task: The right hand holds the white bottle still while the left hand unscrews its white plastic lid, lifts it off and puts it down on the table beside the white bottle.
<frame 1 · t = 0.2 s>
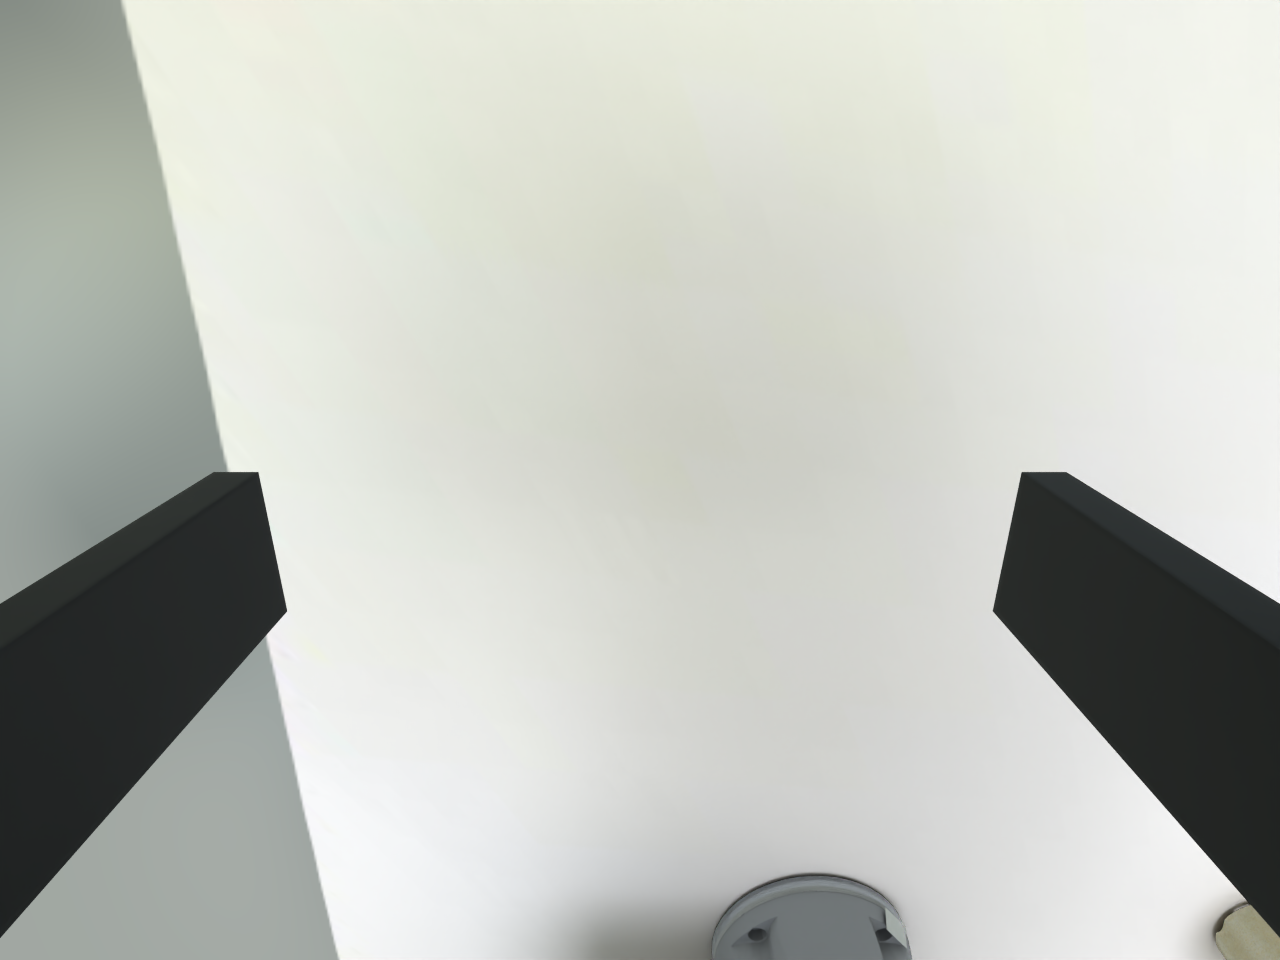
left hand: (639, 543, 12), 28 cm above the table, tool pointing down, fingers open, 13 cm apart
flower pot: (1252, 925, 55), on the table
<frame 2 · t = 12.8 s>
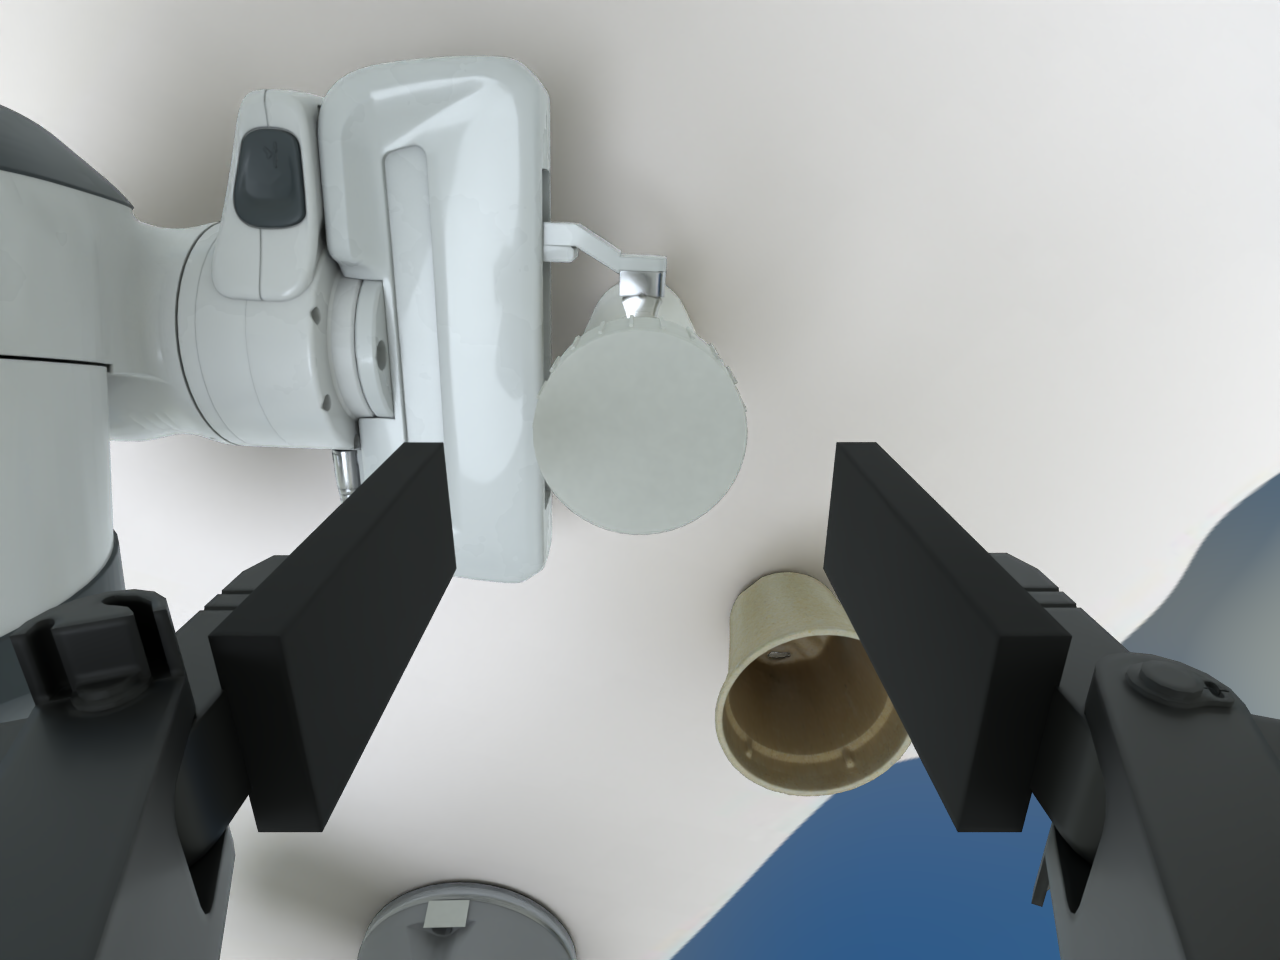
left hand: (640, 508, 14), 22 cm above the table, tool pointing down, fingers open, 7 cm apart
right hand: (661, 353, 29), fingers closed on white bottle, 5 cm apart
flower pot: (781, 614, 41), on the table
white bottle: (640, 328, 35), on the table, touching right hand
lid: (640, 434, 18), point 17 cm above the table, screwed on, not yet turned
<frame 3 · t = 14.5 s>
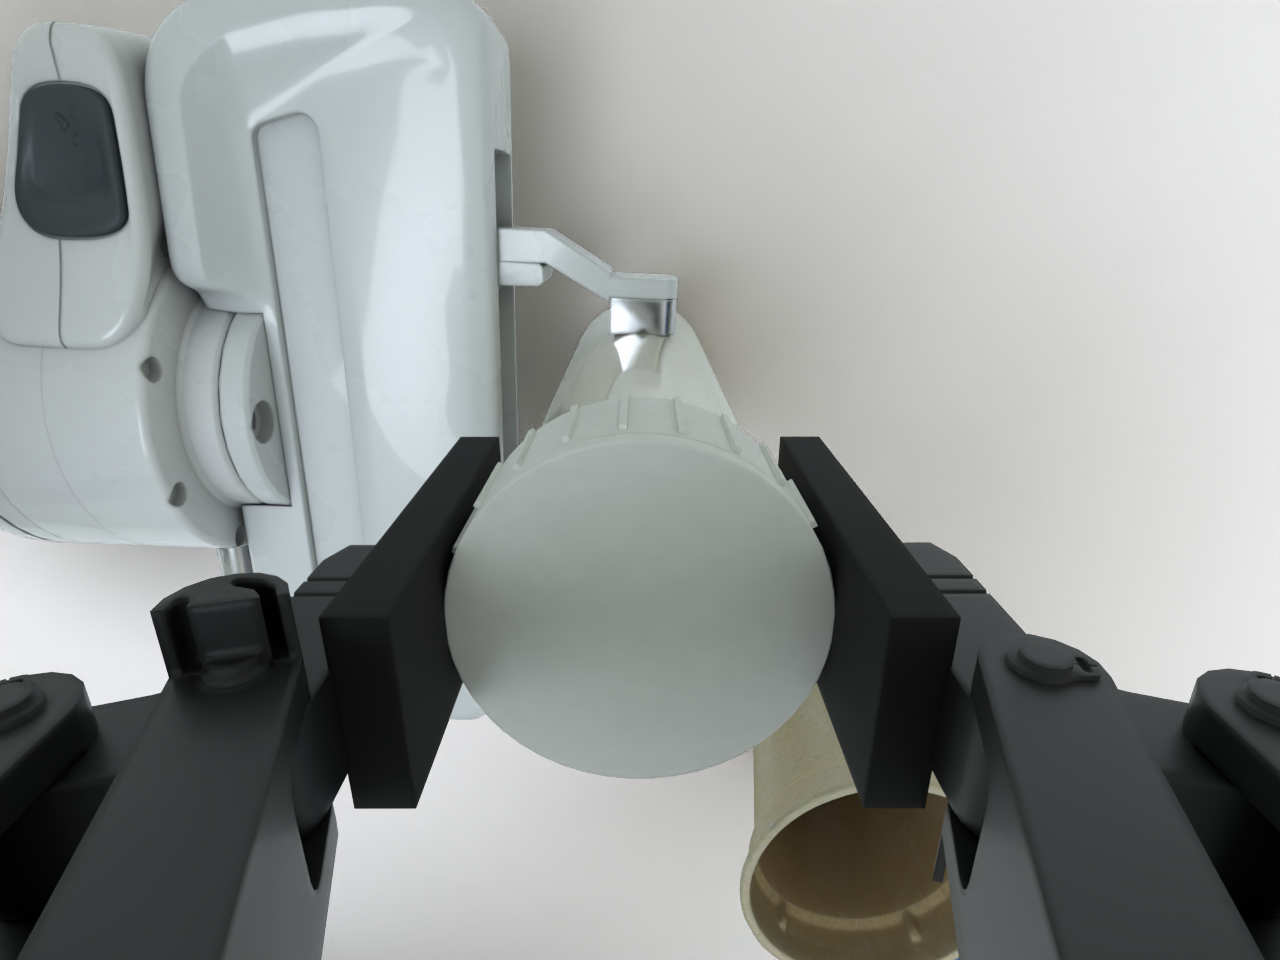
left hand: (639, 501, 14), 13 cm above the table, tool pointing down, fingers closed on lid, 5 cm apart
flower pot: (817, 717, 32), on the table
white bottle: (639, 365, 27), on the table, touching right hand
lid: (639, 613, 10), point 17 cm above the table, screwed on, not yet turned, touching left hand
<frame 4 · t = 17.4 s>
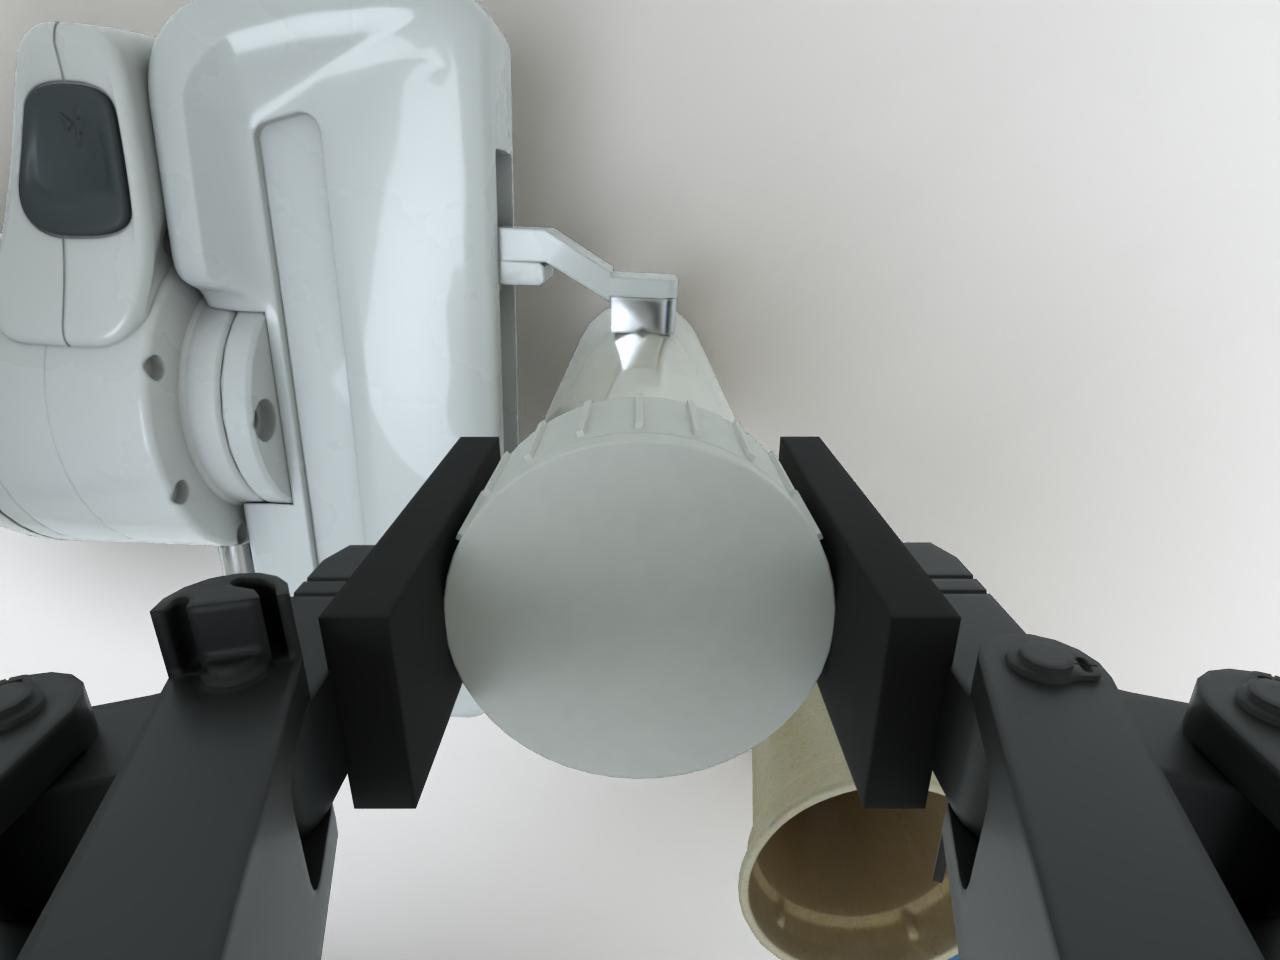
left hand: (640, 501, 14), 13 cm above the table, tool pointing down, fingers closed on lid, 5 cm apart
right hand: (670, 410, 21), fingers closed on white bottle, 5 cm apart
flower pot: (816, 715, 32), on the table
white bottle: (639, 364, 27), on the table, touching right hand
lid: (639, 613, 10), point 18 cm above the table, turned 77° so far, risen 0.1 cm, still on its thread, touching left hand
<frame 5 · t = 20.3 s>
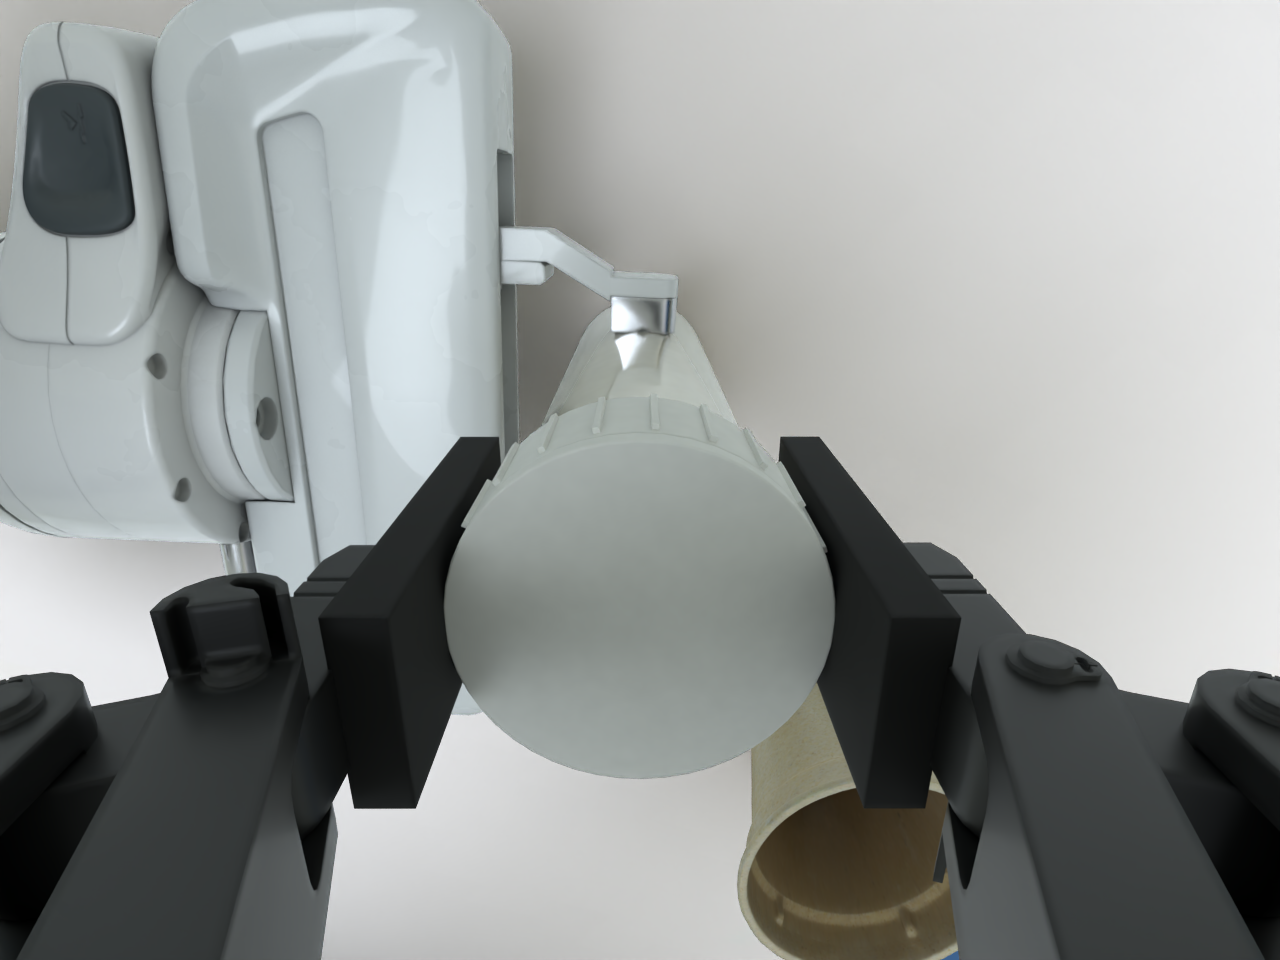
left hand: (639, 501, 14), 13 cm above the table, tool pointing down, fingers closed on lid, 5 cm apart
right hand: (670, 410, 21), fingers closed on white bottle, 5 cm apart
flower pot: (814, 714, 33), on the table
white bottle: (639, 364, 27), on the table, touching right hand
lid: (639, 613, 10), point 18 cm above the table, turned 155° so far, risen 0.2 cm, still on its thread, touching left hand
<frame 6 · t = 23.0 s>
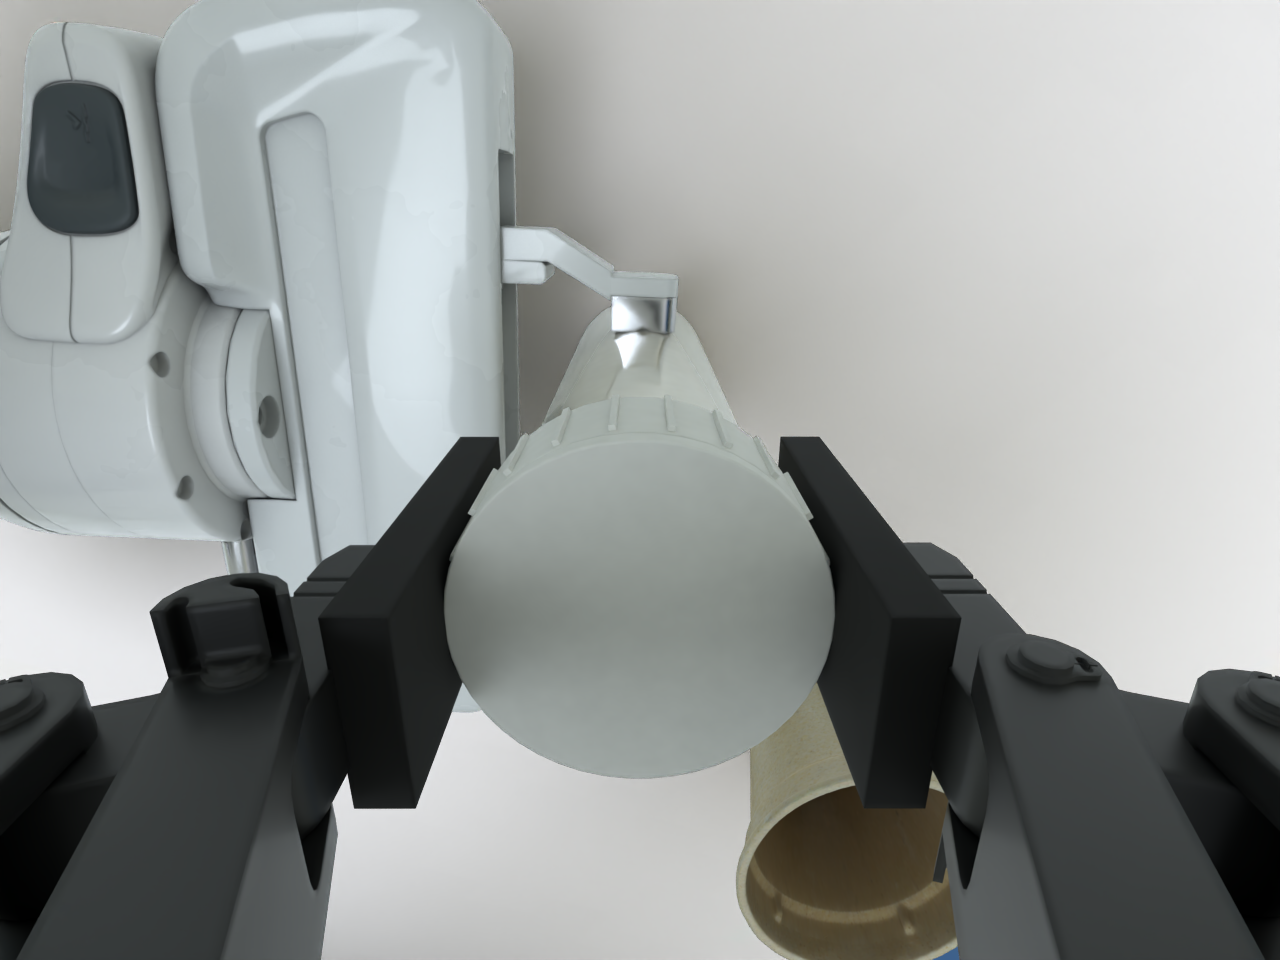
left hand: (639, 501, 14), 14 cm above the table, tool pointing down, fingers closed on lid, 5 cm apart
right hand: (670, 409, 21), fingers closed on white bottle, 5 cm apart
flower pot: (813, 713, 33), on the table
white bottle: (639, 363, 27), on the table, touching right hand
lid: (639, 613, 10), point 18 cm above the table, turned 232° so far, risen 0.3 cm, still on its thread, touching left hand
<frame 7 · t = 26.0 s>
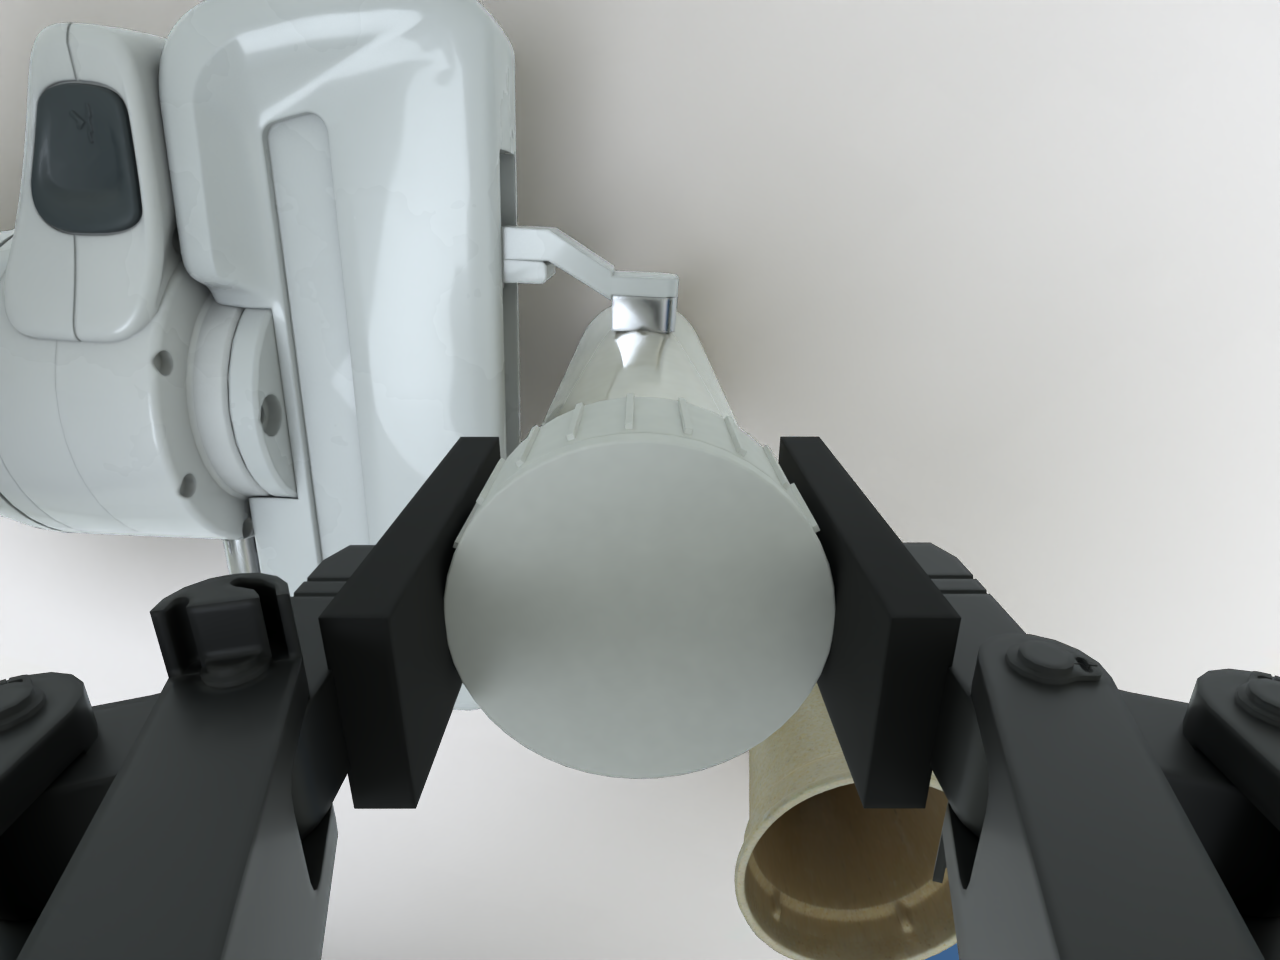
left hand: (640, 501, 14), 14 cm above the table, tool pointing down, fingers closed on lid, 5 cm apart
right hand: (670, 408, 21), fingers closed on white bottle, 5 cm apart
flower pot: (812, 712, 33), on the table
white bottle: (640, 363, 27), on the table, touching right hand
lid: (639, 613, 10), point 18 cm above the table, turned 310° so far, risen 0.4 cm, still on its thread, touching left hand
when the left hand's fingers open (0 cm above the table, at t = 32.4 s): lid drops 2 cm, point 2 cm above the table.
when the right hand's fingers open (7 cm above the table, at t = 33.6 s): white bottle stays where it is, on the table.
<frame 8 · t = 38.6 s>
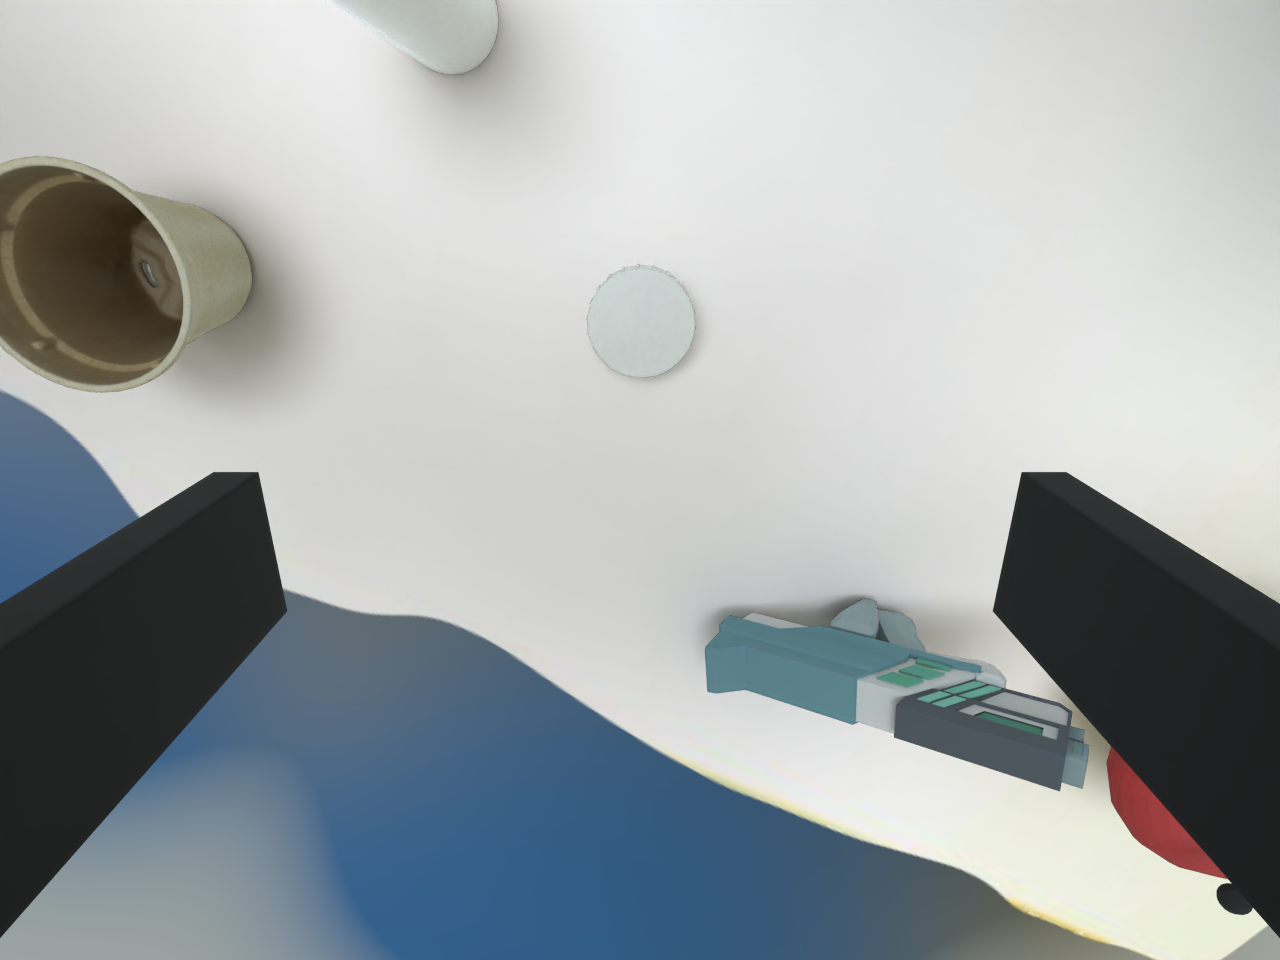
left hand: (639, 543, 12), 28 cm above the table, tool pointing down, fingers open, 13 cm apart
flower pot: (197, 265, 37), on the table
toy gun: (837, 618, 45), on the table
white bottle: (447, 16, 33), on the table
lid: (641, 323, 36), point 2 cm above the table, off its thread
mushroom: (1159, 672, 47), on the table
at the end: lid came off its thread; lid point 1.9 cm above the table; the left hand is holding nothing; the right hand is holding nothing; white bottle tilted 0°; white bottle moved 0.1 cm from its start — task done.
